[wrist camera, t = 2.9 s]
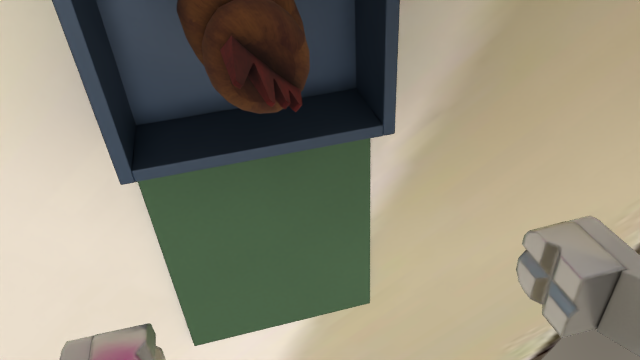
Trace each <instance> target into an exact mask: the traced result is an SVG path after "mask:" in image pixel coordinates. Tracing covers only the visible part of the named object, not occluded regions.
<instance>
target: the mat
mask: <svg viewBox="0 0 640 360" xmlns="http://www.w3.org/2000/svg"><path fill="white" fill-rule="evenodd" d="M138 183H139V186H140V189H141V192H142V195H143V198H144V201H145V204H146V207H147V209H148V212H149V215H150V218H151V221H152V224H153V227H154V230H155V233H156V236H157V238H158V241H159V244H160V247H161V250H162V253H163V256H164V259H165V262H166V264H167V267H168V270H169V273H170V276H171V279H172V282H173V285H174V288H175V291H176V293H177V296H178V299H179V302H180V305H181V308H182V311H183V314H184V317H185V320H186V322H187V325H188V328H189V331H190V334H191V337H192V340H193V343H194V346H197V345H201V344H205V343H209V342H214V341H218V340H222V339H226V338H230V337H234V336H238V335H242V334H246V333H250V332H254V331H258V330H262V329H266V328H270V327H274V326H279V325H283V324H287V323H291V322H295V321H299V320H303V319H307V318H311V317H315V316H319V315H323V314H327V313H331V312H335V311H339V310H343V309H348V308H352V307H356V306H360V305H364V304H368V303H370V138H369V139H363V140H358V141H353V142H347V143H342V144H337V145H331V146H326V147H320V148H315V149H310V150H304V151H299V152H294V153H288V154H283V155H278V156H272V157H267V158H262V159H256V160H251V161H245V162H240V163H235V164H229V165H224V166H219V167H213V168H208V169H203V170H197V171H192V172H186V173H181V174H176V175H170V176H165V177H160V178H154V179H149V180H144V181H138Z"/></svg>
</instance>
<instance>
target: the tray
mask: <svg viewBox="0 0 640 360" xmlns="http://www.w3.org/2000/svg"><path fill="white" fill-rule="evenodd" d="M294 1H295V4H296V6H297V9H298V11H299V14H300V16H301V19H302V21H303V27H304V32H305V37H306V42H307V45H308V48H309V55H310V70H309V74H308V77H307V80H306V83H305V86H304V89H303V90H302V92H301V97H302V106H301V107H300V108H299V109H298V111H297V112H295V111H293V110H292V109H291V108H290V107H289V106H288V107H287V108H286V109H284V108H283V109H282V110H280V111H279V112H275V113H263V114H258V113H253V112H249V111H244V110H241V109H240V108H238V107H236V106H234V105H233V104H231V103H229V102H228V101H227V100H226V99H225V98H224V97H223V96H222V95H221V94H220V93H219V92H218V91H217V90H216V89H215V88H214V87H213V86H212V84H211V81H210V79H209V77H208V75H207V72H206V70H205V67H204V65H203V64H202V63H201V62H200V60H199V59H198V58H197V56H196V55H195V53H194V51H193V49H192V48H191V46H190V44H189V42H188V40H187V39H186V36H185V34H184V31H183V28H182V25H181V22H180V19H179V16H178V13H177V10H176V9H177V2H178V0H52V2H53V4H54V7H55V10H56V12H57V15H58V18H59V20H60V23H61V26H62V28H63V31H64V34H65V36H66V39H67V42H68V45H69V47H70V50H71V53H72V55H73V58H74V61H75V63H76V66H77V69H78V71H79V74H80V77H81V79H82V82H83V85H84V87H85V90H86V93H87V96H88V98H89V101H90V104H91V106H92V109H93V112H94V114H95V117H96V120H97V122H98V125H99V128H100V130H101V133H102V136H103V138H104V141H105V144H106V147H107V149H108V152H109V155H110V157H111V160H112V163H113V165H114V168H115V171H116V173H117V176H118V179H119V181H120V184H121V185H123V184H128V183H134V182H138V181H144V180H149V179H154V178H160V177H165V176H170V175H176V174H181V173H186V172H192V171H197V170H203V169H208V168H213V167H219V166H224V165H229V164H235V163H240V162H245V161H251V160H256V159H262V158H267V157H272V156H278V155H283V154H288V153H294V152H299V151H304V150H310V149H315V148H320V147H326V146H331V145H337V144H342V143H347V142H353V141H358V140H363V139H369V138H374V137H379V136H383V135H390V134H394V133H395V110H396V84H397V57H398V31H399V4H400V0H294Z"/></svg>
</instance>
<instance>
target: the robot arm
mask: <svg viewBox="0 0 640 360" xmlns="http://www.w3.org/2000/svg"><path fill="white" fill-rule="evenodd" d="M522 245H523V246H524V247H525V249H526V250H525V252H524V253H523V254H522V255H521V256H520V257H519V258H518V263H517V268H516V271H517V276H518V281H519V283H520V285H521V287H522V289H523V290H524V292H525V293H526V294H527V296H528V297H529V298H530V299H532V300H534V301H536V302H538V303H540V304H542V315H543V316H544V317H545V318H546V319H547V321H548V322H549V323H550V324H551V326H552V327H553V328H554V329H555V331H556V332H557V333H558V334H559V335H560V337H561V338H563V337H568V336H571V335H575V334H579V333H583V332H587V331H591V330H595V329H597V332H599V333H600V334H602V335H604V336H605V337H607V338H609V339H611V340H612V341H614V342H615V343H617V344H619V345H620V346H622V347H624V348H625V349H627V350H629V351H630V352H632V353H634V354H635V355H637V356H639V357H640V255H639V254H638V253H637V252H635V251H634V250H633V249H632V248H631V247H630V246H628V245H627V244H626V243H625V242H624V241H623V240H621V239H620V238H619V237H618V236H617V235H616V234H615V233H613V232H612V231H611V230H610V229H609V228H608V227H606V226H605V225H604V224H603V223H602V222H601V221H600V220H598V219H597V218H595V217H592V216H586V217H582V218H578V219H574V220H570V221H565V222H561V223H557V224H553V225H549V226H545V227H541V228H538V229H534V230H530V231H528V232H527V233H526V234H525V235H524V238H523V242H522ZM60 360H165V357H164V354H163V351H162V349H161V348H159V347H157V346H156V334H155V332H154V330H153V328H152V325H151V324H144V325H139V326H134V327H130V328H125V329H121V330H116V331H111V332H107V333H102V334H97V335H94V336H90V337H85V338H81V339H76V340H72V341H67V342H66V344H65V345H64V347H63V349H62V351H61V356H60Z"/></svg>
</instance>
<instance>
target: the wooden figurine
mask: <svg viewBox="0 0 640 360" xmlns="http://www.w3.org/2000/svg"><path fill="white" fill-rule="evenodd" d="M176 10H177V13H178V16H179V19H180V22H181V25H182V28H183V31H184V34H185V36H186V39H187V40H188V42H189V44H190V46H191V48H192V49H193V51H194V53H195V55H196V56H197V58H198V59H199V60H200V62H201V63H202V64H203V65H204V67H205V70H206V72H207V75H208V77H209V79H210V81H211V84H212V86H213V87H214V88H215V89H216V90H217V91H218V92H219V93H220V94H221V95H222V96H223V97H224V98H225V99H226V100H227V101H228V102H229V103H231V104H233V105H234V106H236V107H238V108H240V109H241V110H244V111H249V112H253V113H258V114H263V113H275V112H279V111H280V110H282V109H283V108H284V109H286V108H287V107H288V106H289V107H290V108H291V109H292V110H293V111H295V112H297V111H298V109H299V108H300V107H301V106H302V97H301V92H302V90H303V89H304V86H305V83H306V80H307V77H308V74H309V70H310V55H309V48H308V45H307V42H306V37H305V32H304V27H303V21H302V19H301V16H300V14H299V11H298V9H297V6H296V4H295V1H294V0H178V2H177V9H176Z"/></svg>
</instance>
